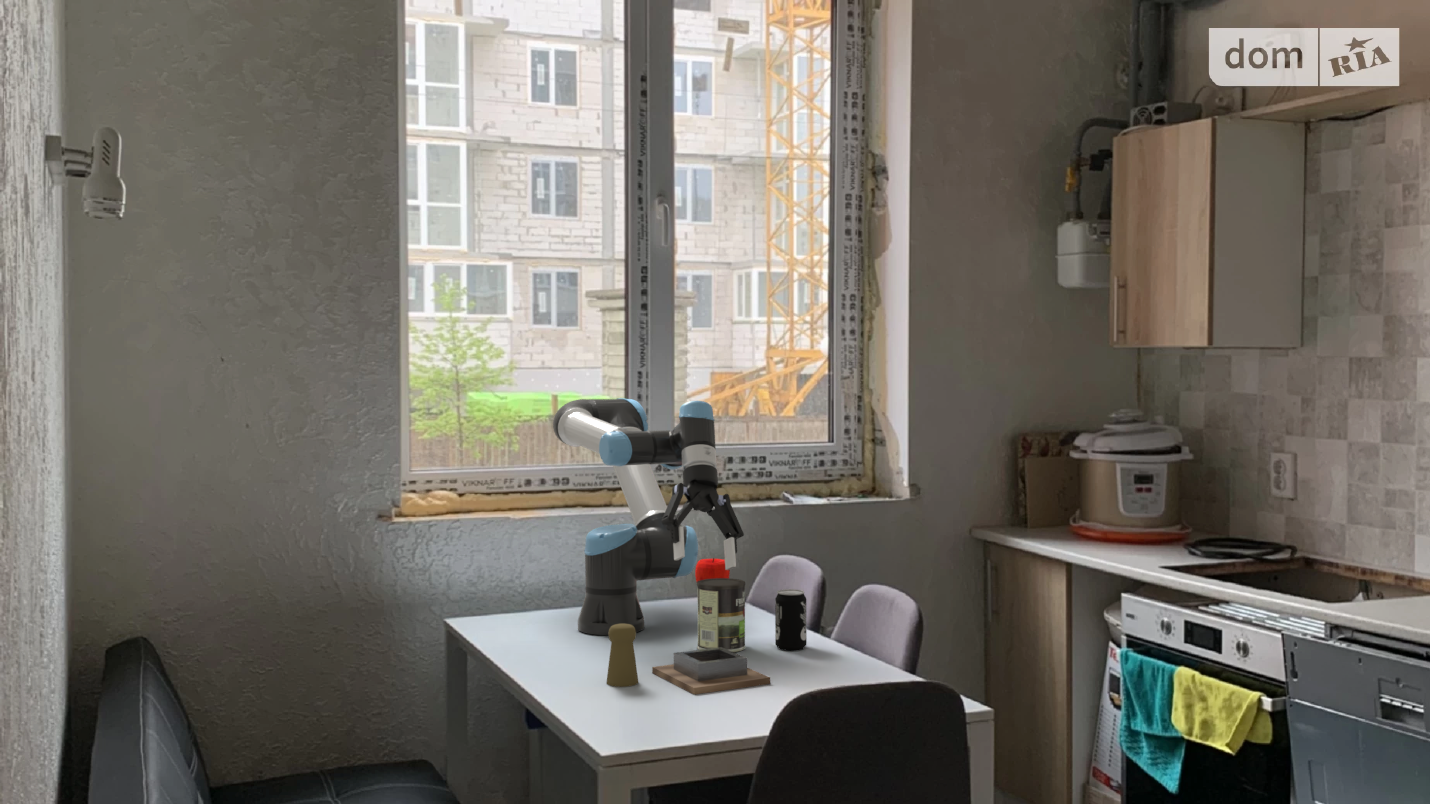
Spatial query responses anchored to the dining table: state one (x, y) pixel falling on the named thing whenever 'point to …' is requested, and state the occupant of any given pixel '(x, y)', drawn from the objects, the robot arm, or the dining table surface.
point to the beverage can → (790, 620)
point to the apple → (711, 569)
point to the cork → (622, 656)
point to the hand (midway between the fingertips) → (705, 563)
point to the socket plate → (710, 671)
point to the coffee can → (721, 614)
